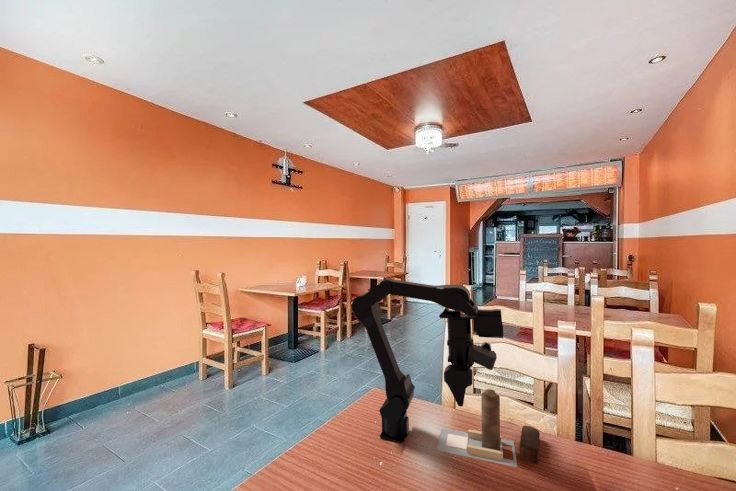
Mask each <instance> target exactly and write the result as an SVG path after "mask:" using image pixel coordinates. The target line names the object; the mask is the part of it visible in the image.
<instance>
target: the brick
mask: <svg viewBox="0 0 736 491" xmlns="http://www.w3.org/2000/svg"><path fill="white" fill-rule="evenodd" d="M540 434H541V433H540V431H539V430H538V429H537V428H534V427H533V426H530V425H522V428H521V433H520V439H519V448H518V452H519V455H518V456H519V459H520V460H522V461H525V462H529V463H531V464H535V465H536V464H538V463H539V450H540V449H539V448H540Z"/></svg>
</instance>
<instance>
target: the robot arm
mask: <svg viewBox="0 0 736 491" xmlns="http://www.w3.org/2000/svg"><path fill="white" fill-rule="evenodd" d="M389 295H393V296H397V297H404V298H410V299H416V300H423V301H428V302H431V303H435V304H437V305H439V306H441V307H443V308H444V309H443V310H442V312H440V313H439V316H438V317H439V319H447V320H446V321H447V322H446V324H447V325H446V326H447V341H446V345H447V346H448V357H447V362H448V363H450V364H448V365H447V366H446V367H445V369H444V371H443V382H444V383H445V384H447V387H448V388H449V390H450V392H451V394H452V396H453V398H454V400H455V402H456V405H457V406H458V407H462V408H463V406H464V401H465V396H466V390H467V388H469V387H471V386H472V385H473V382H474V381H473V380H474V379H473V377H474V374H473V370H472V366H474V364H477V365H480V366H482V367H484V368H486V369H487V370H489V371H492V370H493V369H494V366H495V364H496V361H497V353H496V352H495V350H492V346H491V343H489V342H486V341H485V342H483V343H481V345H480V344H475V343H474V338H473V337H472V321H473V333H476V335H477V336H478V338H491V339H504V323H503V318H502V317H503V316H502V309H501V308H500V309H499V308H496V309H495V308H492V309H482V308H481V309H480V308H479V307H478V305H477V304H476V303H475V302H474V300H473V299H471V293H470V290H469V289H468V288H467V287H466V286H464V285H463V284H441V285H434V284H433V285H432V284H427V283H426V284H424V283H418V282H411V281H406V280H405V281H404V280H399V279H394V278H392V277H391V278H390V277H389V278H385V279H383V280H381V281H380V282H379V283H378V284H377V285H376V286H374V287H373V288H372V289H370V290H369V291H366V292H365V293H362V294H360V295H358V296H356V297H354V298H353V300H352V302H351V307H350V308H351V310H352V312H353V315H354V317H355V318H356V319H357V321H358V322H359V323H360V324H361V325H362V326H363V327H364V328H365V331H366V333H367V335H368V338H369V341H370V343H371V346H372V349H373V352H374V354H375V356H376V359H377V362H378V364H379V367H380V369H381V372H382V375H383V377H384V384H385V385H384V388H385V396H386V398H385V400H384V402H383V404H382V405H381V406H380V408H379V414H380V418H381V432H380V434H379V438H380V439H382V440H388V441H393V442H397V443H404V442H405V439H406V437H408V435H409V432H410V421H409V419H410V418H409V416H408V414H407V413H408V409H409V407H410V404H411V403H412V400H413V398H414V396H415V391H414V390H415V389H416V386H415V385H414V384H413V381H412V379H411V378H412V377H411V375H410V373H407V374H404V373H403V372H402V371H401V369H400V367H399V365H398V362H397V359H396V357H395V354H394V352H393V348H392V347H391V343H390V342H389V339H388V336H387V333H386V331H385V329H384V326H383V324H382V319H381V318H382V317H381V315H382V314H381V313H382V312H381V307H380V302H381V301H383V300H384V299H385V298H386V297H387V296H389ZM471 320H472V321H471Z"/></svg>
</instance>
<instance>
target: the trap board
mask: <svg viewBox="0 0 736 491" xmlns="http://www.w3.org/2000/svg"><path fill="white" fill-rule="evenodd" d="M438 438H439V439H438V441H437V442H438V443H437V447H436V451H438V452H442V453H447V454H452V455H457V456H460V457H465V458H470V459H474V460H480V461H485V462H488V463H489V462H490V463H495V464H498V465H504V466H509V467H514V468H518V462H517V456H516V448H515V442H514V440H509V439H505V438H504V439H503V438H502V434H500V451H498V450H493V449H488V448H483V447H482V431H481V430H480V431H479V430H473V429H468V430H467V432H465V431H461V430H455V429H451V428H445V427H441V428H440V434H439V437H438ZM503 445H504V446H511V450H512V457H513V459H510V458H504V448H503Z"/></svg>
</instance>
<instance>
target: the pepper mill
mask: <svg viewBox="0 0 736 491" xmlns="http://www.w3.org/2000/svg"><path fill="white" fill-rule="evenodd" d="M480 396H481V397H480V398H481V400H480V401H481V402H480V403H481V411H480V412H481V432H482V447H483V448H488V449H493V450H498V451H500V435H501V404H500V402H501V401H500V400H501V399H500V395H499V394H497V393H496V390H494V389H493V388H486V389H485V391H484V392H482V393H481V395H480Z"/></svg>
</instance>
